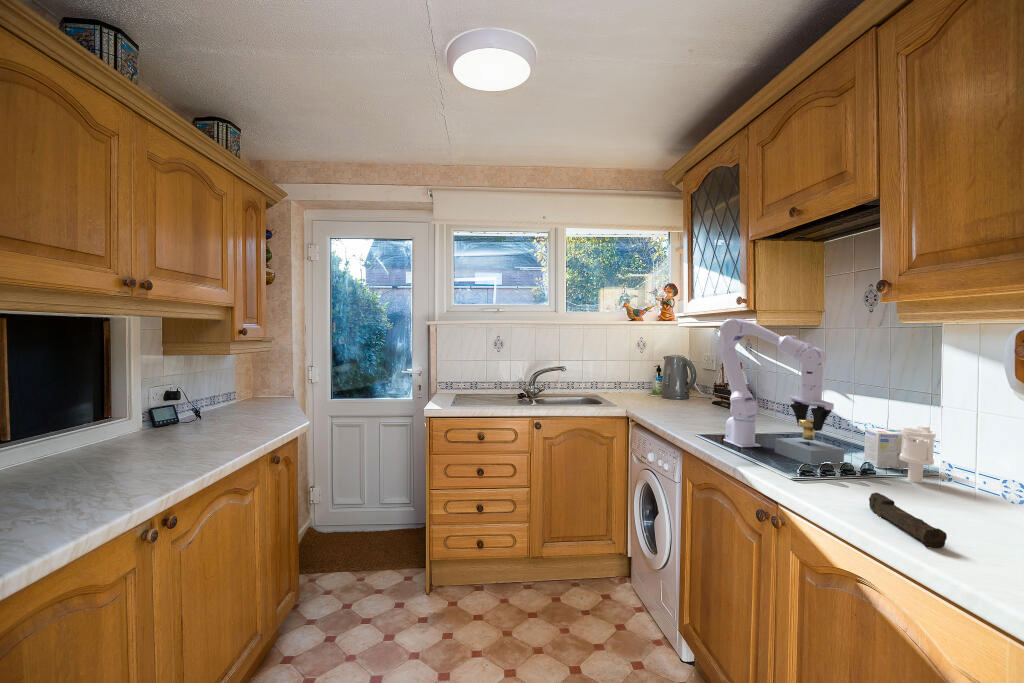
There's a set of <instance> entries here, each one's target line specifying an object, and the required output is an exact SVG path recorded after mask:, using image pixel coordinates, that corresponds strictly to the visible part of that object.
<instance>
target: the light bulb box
mask: <svg viewBox="0 0 1024 683" xmlns="http://www.w3.org/2000/svg"><path fill="white" fill-rule="evenodd" d="M864 430H865V432H864V433H865V434H864V451H863V452H864V456H863V461H864V460H865V461H869V462H871V463H873V464H874V465H876V466H878V467H890V468H908V466H909V462H906V461H903V460H901V459H899V456H900V454H901V446H902V433H901V429H891V428H865V429H864ZM907 436H908V435H907ZM913 442H917V443H918V440H914V439H913Z"/></svg>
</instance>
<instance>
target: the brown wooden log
mask: <svg viewBox="0 0 1024 683" xmlns="http://www.w3.org/2000/svg"><path fill="white" fill-rule="evenodd" d="M868 501H869V510H871V512H872V513H874V514H875V515H876V514H877V515H876V516H878V517H879V518H880V517H881V518H880V519H882V518H884V519H883V520H888V521H889V522H890V523H893V524H894V525H895V526H898V527H900V528H901V529H902V530H903V531H905V532H907V533H909V534H910V535H911V536H913V537H915V538H916V539H917V540H919V541H921V542H922V544H923V546H924V547H925V548H927V547H931V549H942V548H943V547H945V544H946V540H947V537H948V536H947V533H946V532H945V531H944V530H942V529H940V528H936V527H933V526H932V525H931V524H929V523H927V522H925V521H924V520H923V519H920V518H918V517H915V516H914V515H912V514H911V513H908V511H905V510H903V509H902V508H900V507H899V506H897V505H896V504H895V501H894V500H893V499H890V498H889V497H888V496H886V495H884V494H881V493H879V492H876V491H875V492H872V493H871V494H870V496H869V498H868Z"/></svg>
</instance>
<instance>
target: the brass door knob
mask: <svg viewBox="0 0 1024 683" xmlns="http://www.w3.org/2000/svg"><path fill="white" fill-rule="evenodd" d="M798 427H802V429H803V430H802V438H803V439H805V440H815V432H816V431H815V430H814V419H812V418H806V419H799V426H798Z"/></svg>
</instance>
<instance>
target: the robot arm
mask: <svg viewBox="0 0 1024 683" xmlns="http://www.w3.org/2000/svg"><path fill="white" fill-rule="evenodd" d="M746 336H755V337H757V338H759V339H761V340H764V341H766V342H768V343H770V344H773V345H775V346H776V347H777V350H778V351H779V352H781V353H782V354H785V355H787V356H789V357H791V358H793V359H796V360H797V361H800V363H801V373H800V376H801V377H800V394H799V395H789V402H791V403H790V407H791V409H792V411H793V413H794V415H795V419H796V420H795V421H796V424H797V427H800V426H799V419H807V414H808V411H809V408H810V406H812V407H811V408H810V410H811V414H812V418H813V420H814V430H815V432H822V430H823V427H824V425H825V422H826V420H827V419H828V417H829V415H830V414H831V413H832V411H834V409H835V408H834V407H835V406H834V405H835V403H832V402H829V401H826V400H823V399H822V398H823V380H824V378H823V377H824V362H825V361H826V359H827V355H826V351H824V350H823V349H822V348H820V347H818V346H812V343H809V342H807V343H806V342H804V341H802V340H800V339H797V338H798V337H797V336H796V335H784V336H782V335H779V334H778V333H775V332H774V331H773V330H770V329H767V328H766V327H764V326H761V325H760V324H757V323H755V322H753V321H751V320H746V319H745V318H728V319H725V320H724V321H723V323H722V324H721V326H719V337H718V340H717V349H718V352H719V355H720V358H721V362H722V366H723V369H724V372H725V375H726V378H727V383H728V385H729V389H730V392H731V394H730V398H729V402H730V409H729V410H730V411H729V412H730V414H731V416H730V417H729V418H727V420H726V422H725V436H724V437H725V438H723V440H722V441H724V442H726V443H729V444H732V445H734V446H736V447H740V448H755V447H757V448H758V447H759V448H760V447H761V444H759V443H755V442H756V427H757V426H756V425H757V424H756V421H757V419H756V415H757V414H758V413H759V410H760V406H759V404H758V403H757V401H756V400H755V398H754V396H753V394H752V393H751V391H749V389H748V386H747V383H746V380H745V376H744V373H743V370H742V367H741V362H740V360H739V357H738V353H737V351H736V346H737V345H738V343H739V342H740V340H742V339H743V338H744V337H746Z"/></svg>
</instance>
